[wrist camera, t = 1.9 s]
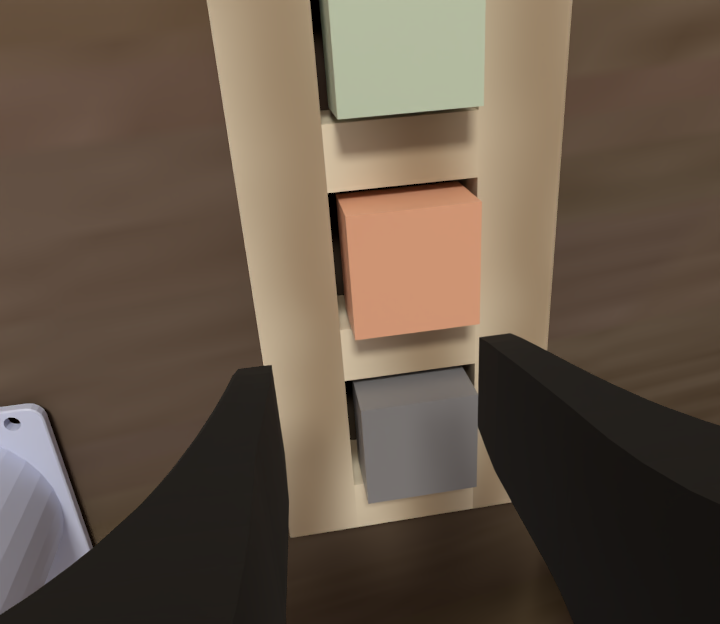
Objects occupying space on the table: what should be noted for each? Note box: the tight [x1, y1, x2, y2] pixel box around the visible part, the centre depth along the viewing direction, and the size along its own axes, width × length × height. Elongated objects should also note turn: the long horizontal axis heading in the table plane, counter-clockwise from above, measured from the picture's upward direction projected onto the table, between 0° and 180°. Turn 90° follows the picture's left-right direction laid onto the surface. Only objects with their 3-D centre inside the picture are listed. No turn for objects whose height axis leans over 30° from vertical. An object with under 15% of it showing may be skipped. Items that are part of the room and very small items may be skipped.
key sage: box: [319, 0, 486, 120], centre depth 15 cm, size 4×4×2 cm
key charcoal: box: [352, 365, 478, 504], centre depth 21 cm, size 4×4×2 cm
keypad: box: [207, 0, 572, 538], centre depth 19 cm, size 9×20×2 cm, turn 4°
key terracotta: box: [336, 181, 482, 340], centre depth 18 cm, size 4×4×2 cm
